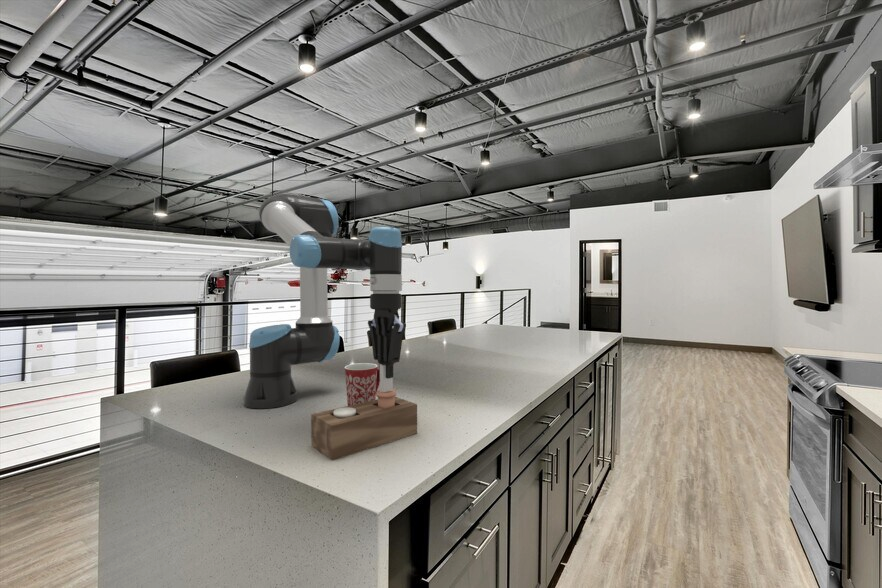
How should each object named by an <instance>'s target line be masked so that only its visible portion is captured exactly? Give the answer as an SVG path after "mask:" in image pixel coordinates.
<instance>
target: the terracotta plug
mask: <svg viewBox="0 0 882 588" xmlns="http://www.w3.org/2000/svg"><path fill="white" fill-rule="evenodd" d="M376 397H377V399H378V407H380V408H383V409H385V408H389V407H393V406H395V397H397V390H395V389H393V391H388V392H384V393H383V392H380V389H378V390H377V392H376Z"/></svg>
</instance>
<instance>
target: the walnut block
mask: <svg viewBox="0 0 882 588" xmlns="http://www.w3.org/2000/svg"><path fill="white" fill-rule="evenodd" d="M345 407H349V408H354V409H356V414H355V415H354V416H352V417H348V418H344V419H338V418H336V417H334V410H336V409H339V408H345ZM310 416H311V417H310V419H311V421H310V422H311V423H310V424H311V427H310V429H311V432H310V433H311V435H310V437H311V438H310V439H311V441H310V442H311V447H312V448H314V449H316V450H317V451H318V452H320V453H322V454H323V455H324V456H325V457H326V458H328V459H330V460H331V461H333V460H338V459H340V458H343V457H346V456H350V455H353V454H356V453H359V452H363V451H366V450H369V449H372V448H376V447H378V446H380V445H385V444H389V443H391V442H394V441H398V440H401V439H403V438H406V437H410V436H413V435H416V434H418V404H417V403H415V402H411V401H409V400H406V399H403V398H401V397H398V396H395V406H393V407H389V408H385V409H383V408H380V407H378V398H376V399H375V400H373V401H368V402H364V403H359V404H355V405H350V406H348V405H347V406H346V405H345V406H343V407H341V406H340V407H337V408H333V409H329V410H324V411H319V412H314V413H312V414H310Z"/></svg>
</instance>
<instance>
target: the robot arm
mask: <svg viewBox="0 0 882 588" xmlns="http://www.w3.org/2000/svg"><path fill="white" fill-rule="evenodd" d="M258 217H259V220H260V222H261V224H262V225H263V226H264V228H265V229H267V230H268V231H269V232H272V233H274V234H276V235H278V236H279V238H281V240H283V242H284V243H285V244H287V245H288V246H289V258H290V259H291V261H290V262H291V263H292V264H293V265H294V266H295V267H297V268H299V292H300V293H299V296H300V297H299V298H300V300H299V301H300V302H299V303H300V304H299V306H300V307H299V308H300V309H299V310H300V313H299V315H300V317H299V318H298V319H297V320H296V321H295V328H292V326H291V325H290V324H289V323H288V324H287V323H286V324H285V323H283V324H282V323H281V324H274V325H267V326H263V327H259V328H257V329H256V328H255V329H254V330H252V331H251V333H250V335H249V345H248V347H249V381H248V384H247V387H246V390H245V392H244V395H243V407H246V408H249V409H256V410H257V409H272V408H273V409H274V408H278V407H284V406H287V405H291V404H293V403H295V402H296V401H298V390H297V388H296V385H295V382H294V380H293V377H292V366H296V365H303V364H311V363H322V362H326V361H330V360H332V359H333V358H334V357H335V356H336V355H337V353H338V351H339V347H340V339H341V337H340V333H339V329H338V327H337V326H335V325H334V324H333V320H332V319H331V318H330V317H329V315H328V309H329V307H328V269H337V270H354V271H362V272H363V271H366V270H369V277H370V278H369V284H370V285H369V287H370V289H369V290H370V292H372V293H371V294H370V295H369V307H370V309H371V310H374V313H373V319H372V320H371V319H370V320H368V321H367V326H368V328H369V331H370V332H369V333H370V340H371V347H372V355H373V359H374V360H375V361H377V363H378V364H379V365H378V369H379V371H380V372H379V374H380V383H379V390H380V392H383V393H384V392H388V391H393V390H394V385H393V384H394V364H396V363H399V362H400V358H401V352H402V345H403V337H404V333H405V329H406V327H407V324H406V322H401V321H400V314H399V310H401V309H402V306H403V305H402V303H403V298H402V297H403V295H402V294H401V293H400V292H401V291H403V277H402V275H403V274H402V267H403V265H402V262H403V261H402V260H403V257H402V256H403V255H402V252H403V243H402V233H401V231H400V229H398V228H396V227H392V226H377V227H372V228H371V229H370V231H369V236H368V239H353V238H352V239H351V238H350V239H349V238H341V237H340V238H338V237H332V236H334V235H336V234H337V232H338V227H339V215H338V212H337V209H336V207H335V205H334V204H333V202H331V201H330V200H327V199H323V198H322V199H321V198H319V197H311V196H304V195H297V194H291V193H290V194H289V193H277V194H275V195H271V196H269V197H268V198H266V199H265V200H263V202H262V203H261V204H260V207H259V211H258Z"/></svg>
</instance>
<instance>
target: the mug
mask: <svg viewBox="0 0 882 588" xmlns="http://www.w3.org/2000/svg"><path fill="white" fill-rule="evenodd" d="M379 372H380V371H379V365H378V364H376V363H371V362H370V363H369V362H367V363H366V362H358V363H357V362H356V363H352V364H351V363H350V364H347V365H345V366H344V373H345V375H344V376H345V386H346V387H345V388H346V402H347V406H350V405H355V404H359V403H364V402H368V401H373V400H377V398H376V397H377V396H376V392H377V391H378V390H379V388H380V374H379Z"/></svg>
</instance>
